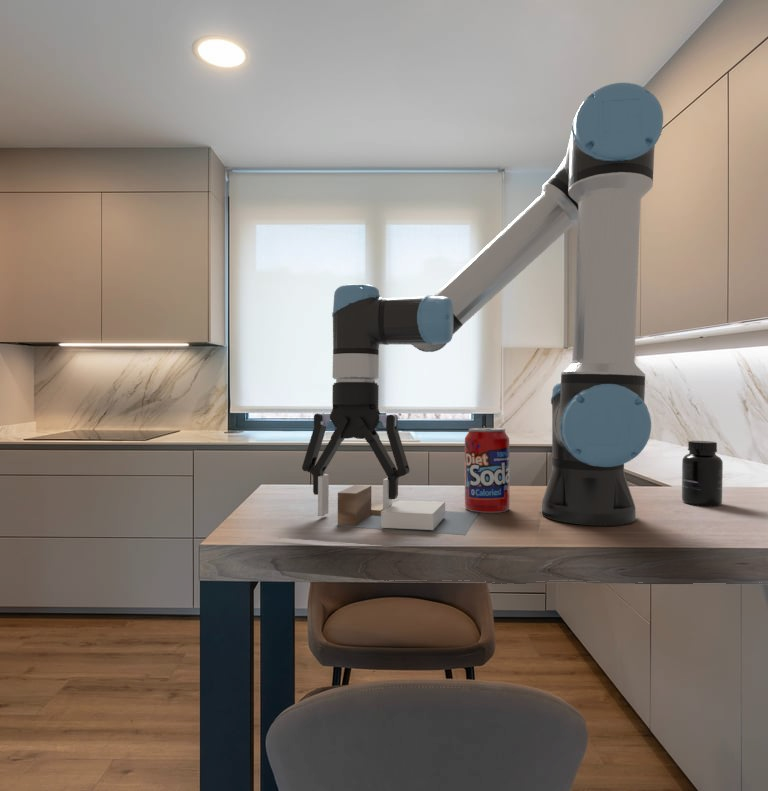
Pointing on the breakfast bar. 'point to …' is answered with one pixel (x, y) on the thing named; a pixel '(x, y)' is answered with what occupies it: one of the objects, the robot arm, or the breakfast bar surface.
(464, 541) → the breakfast bar surface
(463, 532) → the mat
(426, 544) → the breakfast bar surface
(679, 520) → the breakfast bar surface
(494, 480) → the soda can
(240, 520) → the breakfast bar surface
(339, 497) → the block with thin plate
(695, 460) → the supplement bottle
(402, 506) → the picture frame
